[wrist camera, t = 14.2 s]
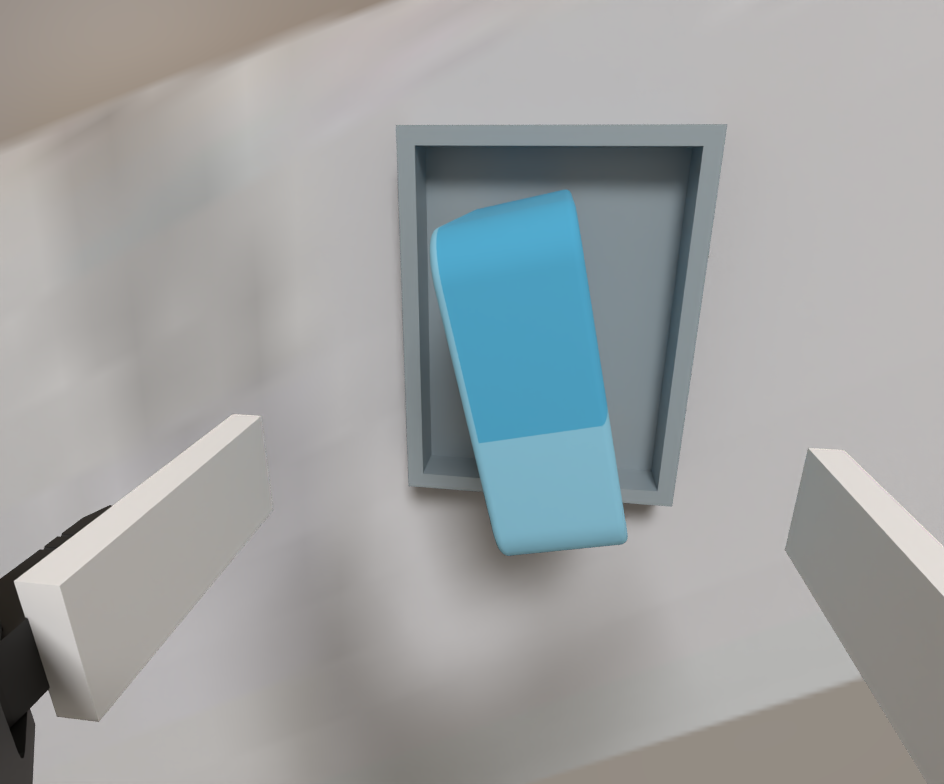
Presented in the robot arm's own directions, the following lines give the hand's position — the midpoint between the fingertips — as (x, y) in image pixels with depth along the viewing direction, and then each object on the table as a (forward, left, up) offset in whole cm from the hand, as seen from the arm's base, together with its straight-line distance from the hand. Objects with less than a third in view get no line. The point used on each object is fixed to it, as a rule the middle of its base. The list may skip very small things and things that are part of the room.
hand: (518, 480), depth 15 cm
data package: (0, 0, -17) cm, 17 cm away
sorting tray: (0, 0, -17) cm, 17 cm away
